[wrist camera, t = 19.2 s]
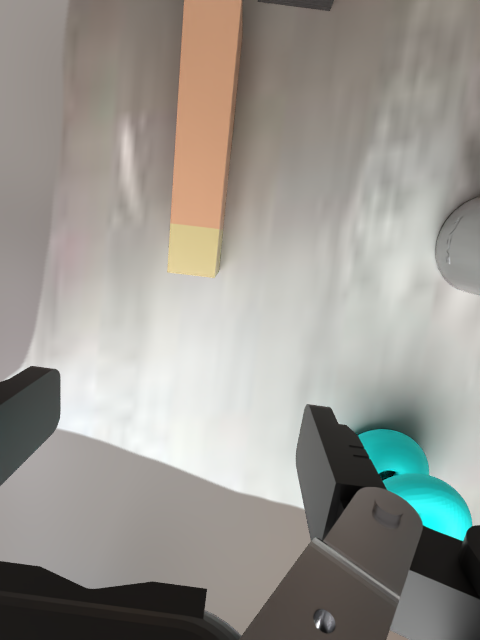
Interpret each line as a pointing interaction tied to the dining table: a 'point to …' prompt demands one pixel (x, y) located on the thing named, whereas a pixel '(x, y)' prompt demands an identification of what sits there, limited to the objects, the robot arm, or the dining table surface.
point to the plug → (204, 133)
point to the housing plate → (304, 3)
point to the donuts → (417, 482)
